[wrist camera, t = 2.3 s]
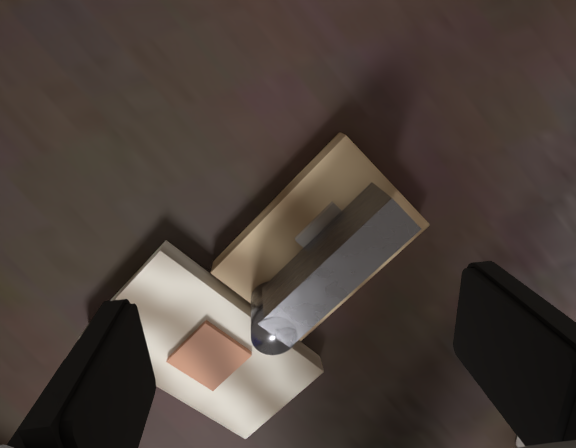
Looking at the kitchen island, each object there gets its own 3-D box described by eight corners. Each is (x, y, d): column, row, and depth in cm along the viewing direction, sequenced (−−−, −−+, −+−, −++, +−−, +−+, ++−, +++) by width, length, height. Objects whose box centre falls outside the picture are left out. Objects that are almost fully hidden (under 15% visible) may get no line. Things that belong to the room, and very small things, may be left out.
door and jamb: (245, 421, 37) (245, 444, 34) (88, 324, 31) (75, 343, 29) (446, 245, 32) (462, 258, 29) (302, 92, 26) (307, 93, 24)
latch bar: (271, 322, 30) (274, 362, 26) (242, 300, 29) (241, 338, 25) (395, 207, 28) (422, 229, 23) (368, 178, 26) (391, 197, 22)
